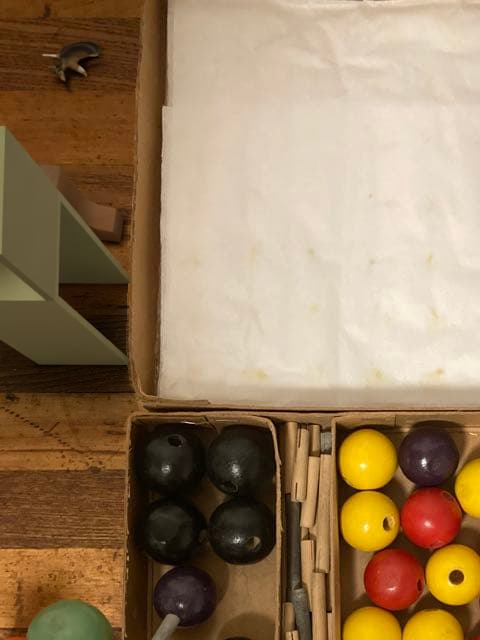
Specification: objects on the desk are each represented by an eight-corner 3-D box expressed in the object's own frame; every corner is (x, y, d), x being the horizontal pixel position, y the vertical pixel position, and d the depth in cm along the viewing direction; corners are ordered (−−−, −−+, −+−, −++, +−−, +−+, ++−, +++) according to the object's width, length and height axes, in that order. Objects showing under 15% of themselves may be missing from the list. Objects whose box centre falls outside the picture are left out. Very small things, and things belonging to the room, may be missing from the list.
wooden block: (124, 218, 151) (88, 168, 133) (121, 243, 151) (84, 195, 133) (75, 212, 151) (32, 161, 133) (71, 236, 151) (28, 188, 133)
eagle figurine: (81, 97, 151) (111, 56, 150) (48, 68, 146) (79, 24, 144) (67, 85, 156) (96, 45, 155) (33, 56, 150) (63, 14, 149)
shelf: (38, 364, 149) (-134, 253, 101) (40, 276, 150) (-128, 124, 102) (128, 364, 150) (1, 254, 101) (130, 277, 151) (5, 125, 102)
